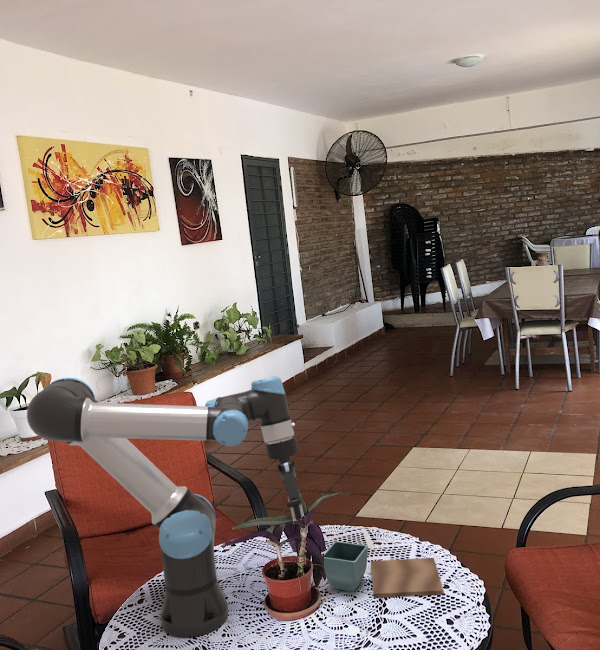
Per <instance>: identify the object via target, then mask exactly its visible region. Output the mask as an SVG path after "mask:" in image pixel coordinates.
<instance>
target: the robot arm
mask: <svg viewBox="0 0 600 650" xmlns="http://www.w3.org/2000/svg"><path fill="white" fill-rule="evenodd" d="M26 419H27V424H28V426H29V427H30V430H31V431H32V432H33V433H34V434H35V435H37V437H40V438H41V439H44V440H46V441H52V442H62V443H63V442H65V443H66V444H67V445H68V446H79V447H81V449H83V450H84V452H86V453H87V454H88V456H90V457H91V458H92V459H93V460H94V461H95V462H96V463H97V464H98V465H100V467H102V468H103V469H104V470H105V471H106V472H107V473H108V474H109V475H110V476H111V477H112V479H114V480H115V481H116V482H118V483H119V485H121V486H122V487H123V488H124V489H125V490H126V491H127V492H128V493H130V495H131V496H132V497H133V498H134V499H136V501H138V502H139V503H140V504H141V505H142V506H143V507H144V509H146V510H147V511H148V512H149V513H150V514H151V523H152V524H153V526H155V527H156V529H158V530H159V535H158V543H159V546H160V553H161V560H162V569H163V578H164V587H165V593H164V598H163V603H162V607H161V611H160V620H161V621H160V622H161V628H162V629H163V630H164V632H165V633H167V634H168V635H171V636H174V637H180V638H193V637H199V636H203V635H206V634H208V633H210V632H213V631H215V630H217V629H218V628H220V626H222V625H224V623H225V622H226V621H227V619H228V618H229V617H228V616H229V608H228V602H227V599H226V597H225V595H224V593H223V591H222V589H221V587H220V584H219V583H218V578H217V577H218V576H217V567H216V558H215V544H214V543H215V535H216V534H215V533H216V526H217V517H216V512H215V509H214V507H213V505H212V503H211V502H210V501H209V500H208V499H207V498H206V497H204V496H203V495H200V494H198V493H193V492H192V491H191V490H190V489H189V488H188V487H187V486H185V485H184V486H177V485H176V484H175V483H173V481H172V480H171V479H170V478H169V477H167V476H166V475H165V473H163V472H162V471H161V470H160V469H159V468H158V467H157V466H156V465H155V464H154V463H153V462H152V461H151V460H150V459H149V458H148V457H147V456H145V454H143V452H142V451H140V450H139V449H138V448H137V446H135V444H133V443H132V442H131V441H130V439H132V440H133V439H136V440H137V439H139V440H141V439H142V440H167V441H168V440H170V441H171V440H172V441H173V440H175V441H207V442H210V441H211V442H218V443H220V445H222V446H225V447H235V446H237V445H239V444H241V443H242V442H243V441H244V440H245V438H246V437H247V434H248V430H249V423H252V422H253V423H254V422H256V421H259V422H260V430H261V432H262V433H261V434H262V437H263V442H264V443H266V445H265V450H266V453H267V458H268V459H269V460H270V461H271V460H272V461H273V460H278V461H279V463H280V464H277V468H278V472H279V474H280V477H281V481H282V482H283V484H285V491H286V495H287V499H288V503H287V504H286V508H288V509H290V512H291V518H292V521H293V523H294V521H298V520H302V517H303V516H304V517H305V514H304V510H303V505H302V500H301V498H300V493H301V490H300V488H298V486H297V482H296V481H297V474H296V467H295V466H296V465H295V462H294V460H292V461H291V460H290V456H295V455H296V454H298V452H299V447H298V442H297V439H296V438H295V437H294V435H295V431H294V427H295V426H296V424H295V422H292V417H291V413H290V409H289V404H288V399H287V395H286V391H285V389H284V385H283V381H282V379H281V377H279V376H277V375H274V376H269V377H266V378H262V379H257V380H254V381H252V382H251V389H249V390H246V391H242V392H238V393H233V394H229V395H226V396H218V397H216V398H213V399H210V400H207V401H206V403H205V405H204V406H199V405H195V406H194V405H173V404H171V405H169V404H149V403H147V404H145V403H144V404H142V403H119V402H118V403H115V402H99V401H98V400H96V396H95V393H94V391H93V389H92V388H91V386H90V385H89V384H88V383H86V382H85V381H84V380H82V379H79V378H76V377H64V378H60V379H59V378H58V379H56V380H54V381H52V382H50V384H48V385H47V386H46V387H45V388H43V389H42V390H41V391H39V392H38V393H36V394H35V395H34V396H33V397H32V399H31V400H30V402H29V404H28V406H27V410H26ZM294 517H295V518H294ZM307 533H309V531H308V529H307Z"/></svg>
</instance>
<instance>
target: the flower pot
mask: <svg viewBox="0 0 600 650" xmlns="http://www.w3.org/2000/svg"><path fill="white" fill-rule="evenodd" d="M368 548H369V547H368V545H365V544H360V543H359V544H358V543H351V542H344V541H334V542H333V543H332V544H331V545H330V546H329V548H327V550H326V551H325V552H324V553H323V554H324V556H325V557H324V566H323V569H324V574H325V577H326V579H327V581H328V584H330V585H331V586H332V588H334V589H335V590H339V591H345V592H355V591H356V589H357V588H358V587H359V585H360V584H361V582H362V580H363V578H364V576H365V573H366V571H367V570H366V569H367V566H368V550H369V549H368Z"/></svg>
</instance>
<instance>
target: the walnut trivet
mask: <svg viewBox="0 0 600 650" xmlns="http://www.w3.org/2000/svg"><path fill="white" fill-rule="evenodd" d="M370 568H371V569H370V570H371V583H372V591H373V592H372V594H373V599H377V597H382V598H397V597H396V596H402V597H412V596H411V595H422V596H436V595H437V596H438V595H444V589H443V585H442V582H441V579H440V578H441V577H440V574H439V571H438V568H437V564H436V560H435V558H434V557H420V558H404V559H402V558H401V559H385V560H370ZM394 596H395V597H394ZM375 597H376V598H375Z"/></svg>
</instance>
